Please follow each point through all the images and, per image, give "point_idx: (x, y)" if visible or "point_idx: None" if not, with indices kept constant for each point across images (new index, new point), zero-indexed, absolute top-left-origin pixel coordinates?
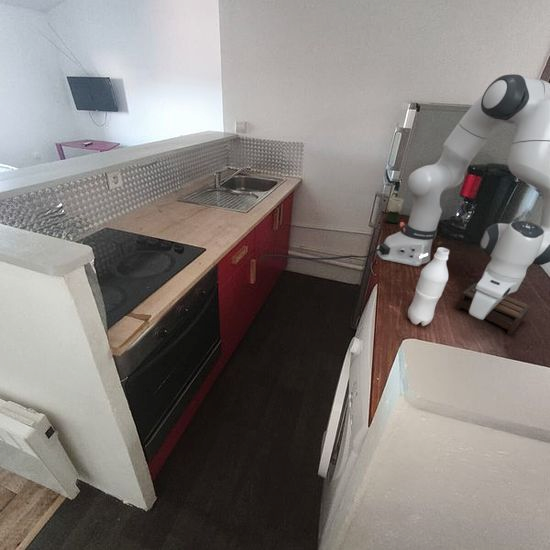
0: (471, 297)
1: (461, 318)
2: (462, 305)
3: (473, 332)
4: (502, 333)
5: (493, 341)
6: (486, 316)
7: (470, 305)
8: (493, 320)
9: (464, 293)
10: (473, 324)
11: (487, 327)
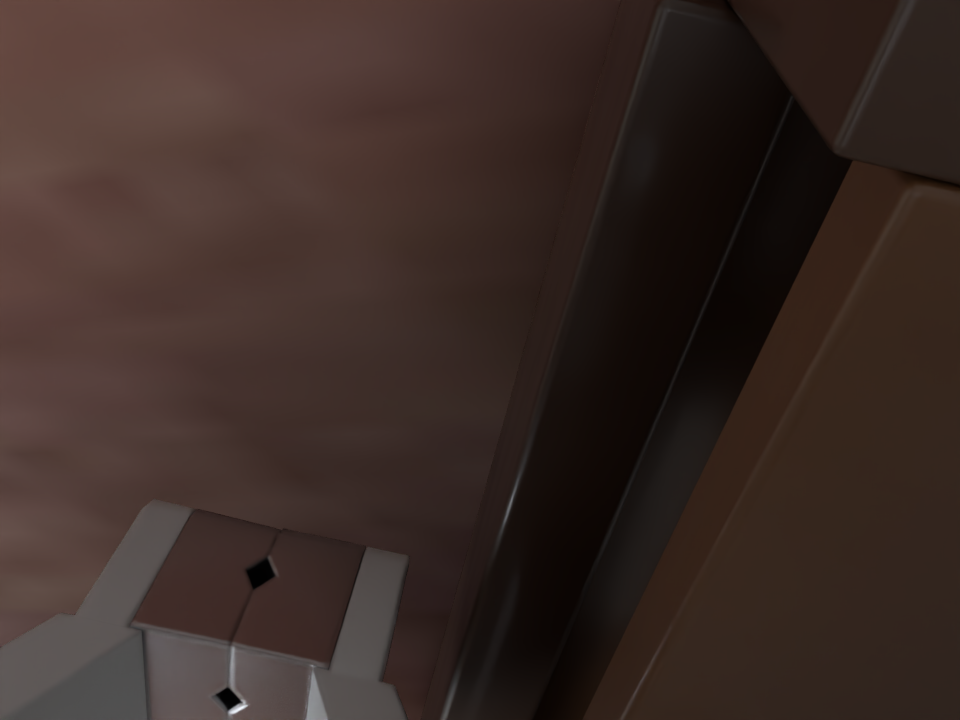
0: (705, 472)
1: (294, 85)
2: (626, 27)
3: (17, 363)
4: (399, 672)
5: (86, 592)
6: (454, 610)
7: (556, 324)
8: (433, 686)
9: (900, 35)
10: (279, 337)
11: (389, 526)
